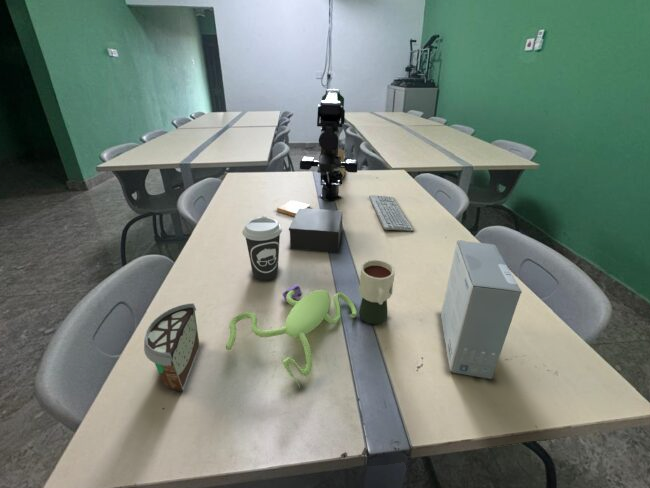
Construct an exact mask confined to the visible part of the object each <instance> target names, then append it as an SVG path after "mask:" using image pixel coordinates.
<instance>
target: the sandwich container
mask: <svg viewBox="0 0 650 488" xmlns="http://www.w3.org/2000/svg"><path fill="white" fill-rule="evenodd" d="M338 156H341V162H346V160H345V150H344V149H339V150H338ZM340 171H341V173H342V175H343V178H344V177H345V175H346V172H347V171H346V170H345V168H341V170H340ZM344 172H345V173H344Z"/></svg>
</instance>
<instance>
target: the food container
mask: <svg viewBox="0 0 650 488" xmlns="http://www.w3.org/2000/svg"><path fill="white" fill-rule="evenodd" d="M196 311H197V308H196V305H195V303H185V304H181V305H178V306H174V307H172V308H170V309H168V310H166V311H164V312H163V313H161V314H160V315H159V316H157V317H156V318H155V319H154V320H153V321H152V322H151V323H150V325H149V326H148V328H147V330H146V332H145V335H144V339H143V340H144V342H143V344H144V345H143V346H144V347H143V351H144V354H145V357H146V358H147V359H148V360H149V361H151V362H152V363H154V365H155V368H156V369H157V372H158V374H159V376H160V379H161V381H162V383H163V384H164V386H165V387H166V388H168V389H169V390H171V391H176V392H184V389H185V387H186V384H187V382H188V379H189V376H190V374H191V372H192V368H193V367H194V366H193V365H194V363H195V361H196V358H197V355H198V352H199V350H200V348H201V347H200V346H201V345H200V339H199V337H200V336H199V330H198V324H197V323H198V322H197V316H196Z"/></svg>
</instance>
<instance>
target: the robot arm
mask: <svg viewBox="0 0 650 488" xmlns="http://www.w3.org/2000/svg"><path fill="white" fill-rule="evenodd" d="M319 103H320V104H319V105H317V117H316V127H318V128H319V127H321V128H320V134H319V137H318V145H319V147H320V154H319V157H318V160H315V157H313V156H303V157H302V158H301V160H300V161H299V170H306V171H310V169H312V167H317V173H319V174H320V186H322V187H321V195H320V198H322V199H324V200H326V201H328V202H331V201H334V200H338V199H341V198H342V196H341V195H339V194H340V193H339V190H340V187H341V186H342V185H343V182H344V181H343V179H344V177H343V175H342V173H341V171H340V170H341V168H345V170H346V172H347V173H354V174H355V173H358V169H359V160H357V159H346V160H345V162H341V156H338V150H340V149H339V148H340V147H339V146H340V145H339V144H340V128H343V125H345V120H346V115H345V114H346V110H345V97H344V96H342V94H341V90H339V89H335V88H333V89H331V88H328V89H326V90H325V94H324V95H323V96H321V101H320V102H319Z"/></svg>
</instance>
